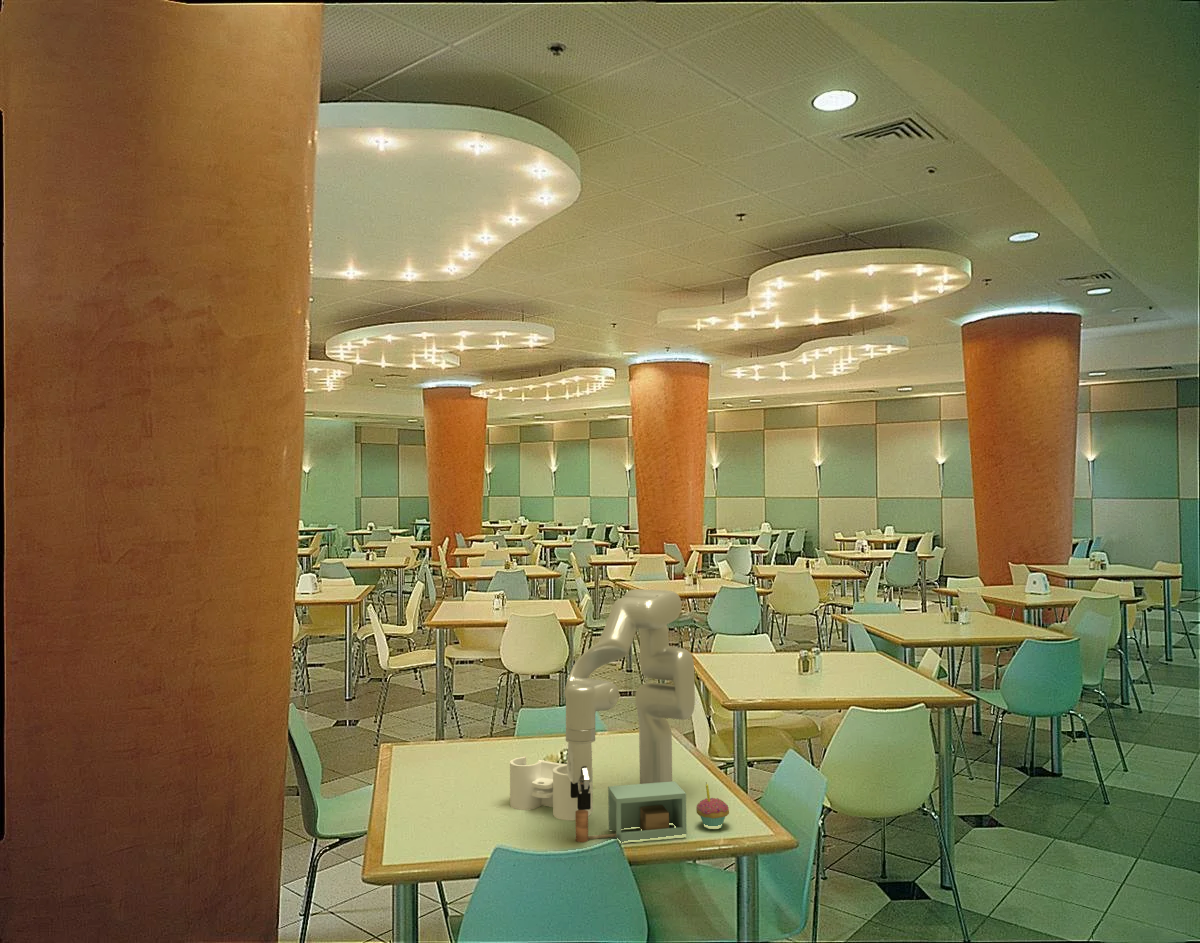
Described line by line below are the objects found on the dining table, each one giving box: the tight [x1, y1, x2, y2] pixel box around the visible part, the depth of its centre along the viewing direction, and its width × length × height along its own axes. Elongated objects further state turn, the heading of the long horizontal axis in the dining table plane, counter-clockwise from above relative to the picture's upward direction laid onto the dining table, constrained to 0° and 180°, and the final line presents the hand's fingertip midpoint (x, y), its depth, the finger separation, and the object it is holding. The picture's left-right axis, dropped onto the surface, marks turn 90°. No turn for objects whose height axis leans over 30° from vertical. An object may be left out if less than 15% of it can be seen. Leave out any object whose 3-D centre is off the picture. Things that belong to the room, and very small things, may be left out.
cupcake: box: [695, 781, 730, 826], centre depth 236 cm, size 9×8×12 cm
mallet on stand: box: [574, 805, 670, 843], centre depth 230 cm, size 6×24×7 cm, turn 102°
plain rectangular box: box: [607, 780, 688, 843], centre depth 231 cm, size 10×18×11 cm, turn 102°
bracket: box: [509, 756, 594, 821], centre depth 250 cm, size 25×10×12 cm, turn 59°
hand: (580, 803), depth 227 cm, fingers open, 9 cm apart
